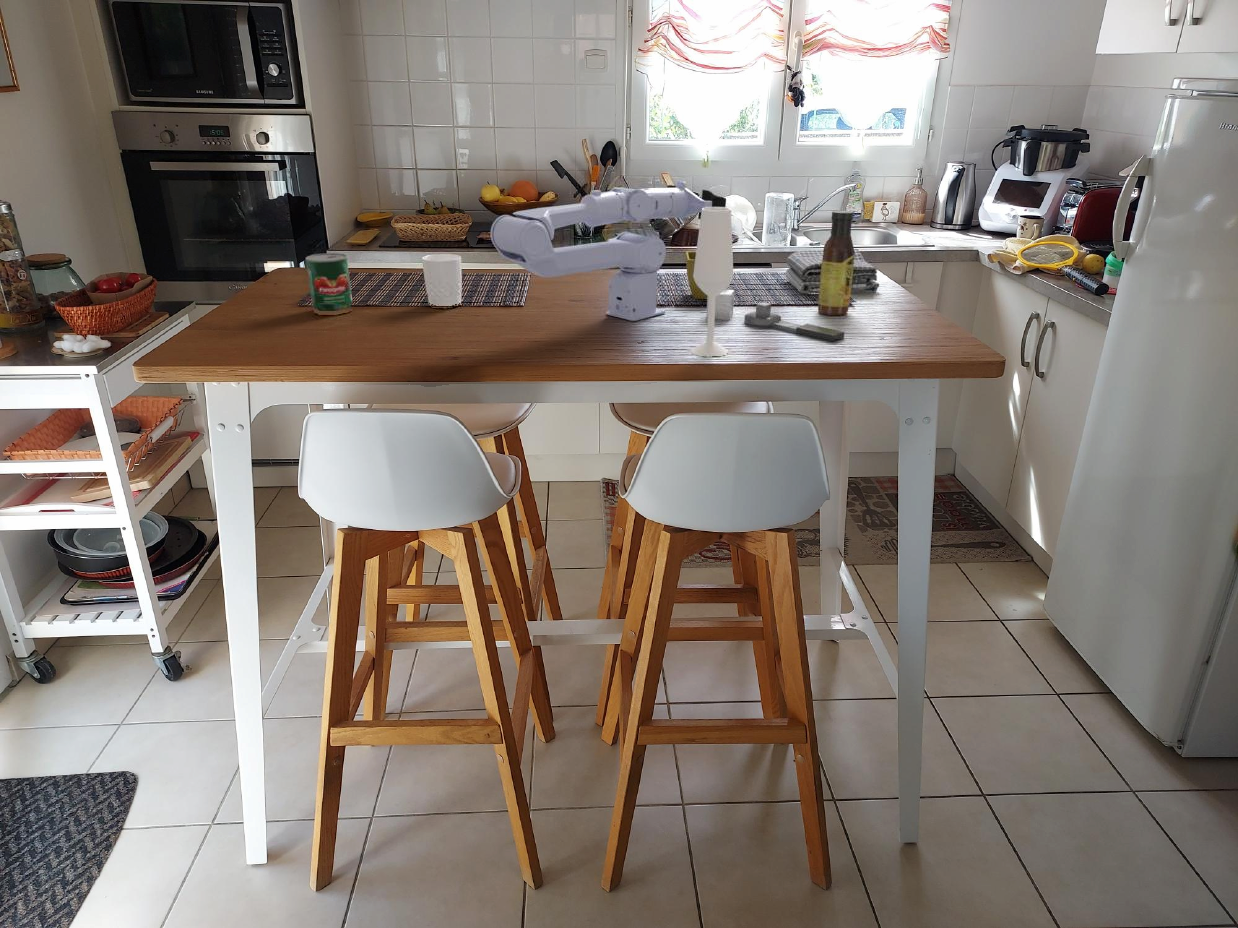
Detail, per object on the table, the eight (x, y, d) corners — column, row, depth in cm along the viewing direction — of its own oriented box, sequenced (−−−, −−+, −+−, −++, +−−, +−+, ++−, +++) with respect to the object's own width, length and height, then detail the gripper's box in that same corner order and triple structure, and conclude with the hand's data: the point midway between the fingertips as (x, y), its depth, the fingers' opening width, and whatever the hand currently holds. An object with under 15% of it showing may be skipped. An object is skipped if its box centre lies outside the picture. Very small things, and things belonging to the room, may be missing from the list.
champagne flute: (725, 346, 150) (733, 206, 141) (731, 357, 144) (740, 211, 134) (688, 346, 150) (693, 206, 140) (692, 357, 144) (698, 212, 134)
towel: (782, 282, 200) (784, 248, 197) (857, 281, 201) (861, 247, 198) (799, 297, 186) (802, 261, 183) (880, 295, 187) (885, 259, 184)
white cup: (468, 301, 180) (465, 254, 176) (458, 310, 173) (454, 261, 169) (432, 300, 181) (428, 253, 177) (421, 309, 174) (416, 260, 170)
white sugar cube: (729, 320, 167) (730, 295, 165) (706, 318, 168) (707, 293, 166) (732, 314, 171) (734, 290, 169) (710, 313, 172) (711, 288, 170)
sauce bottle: (849, 317, 169) (861, 214, 161) (817, 315, 170) (827, 213, 162) (847, 309, 175) (859, 210, 166) (816, 308, 176) (826, 209, 168)
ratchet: (848, 337, 156) (851, 316, 154) (827, 345, 151) (830, 323, 150) (758, 317, 169) (760, 298, 168) (736, 323, 165) (738, 304, 163)
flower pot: (727, 302, 181) (729, 259, 177) (686, 301, 181) (687, 259, 177) (723, 292, 189) (725, 251, 185) (684, 292, 189) (685, 251, 185)
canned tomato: (328, 318, 168) (320, 262, 163) (305, 312, 172) (296, 257, 168) (361, 310, 173) (355, 256, 169) (338, 304, 178) (331, 251, 173)
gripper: (690, 185, 160) (739, 184, 168) (639, 178, 170) (687, 177, 178) (687, 224, 162) (735, 221, 171) (637, 214, 172) (685, 212, 181)
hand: (710, 201), depth 174 cm, fingers open, 7 cm apart
